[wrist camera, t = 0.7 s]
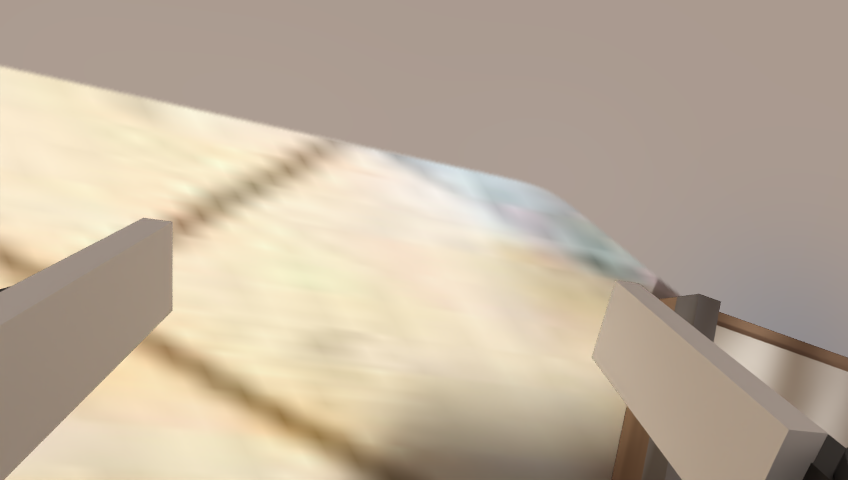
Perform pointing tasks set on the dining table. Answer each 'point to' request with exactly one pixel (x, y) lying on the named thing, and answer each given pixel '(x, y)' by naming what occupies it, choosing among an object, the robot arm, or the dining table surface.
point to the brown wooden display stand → (765, 358)
